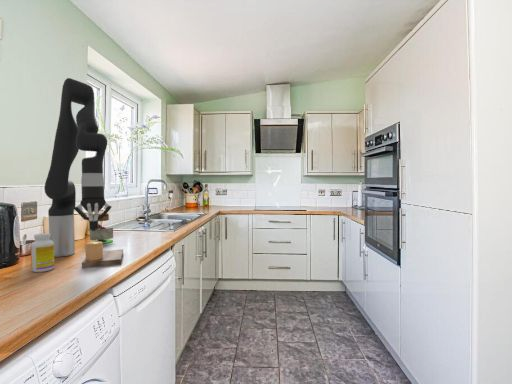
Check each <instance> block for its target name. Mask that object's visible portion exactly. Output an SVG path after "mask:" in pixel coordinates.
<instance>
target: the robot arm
mask: <svg viewBox="0 0 512 384" xmlns="http://www.w3.org/2000/svg"><path fill="white" fill-rule="evenodd" d="M60 98H61V99H60V108H59V115H58V122H57V127H56V130H55V136H54V141H53V149H52V153H51V162H50V167H49V169H48V174H47V177H46V179H45V183H44V193H45V196H47V197H48V198H49V199H51V202H52V203H51V206H50V207H49V208H48V211H47V212H48V213H47V214H48V233H50V240H51V241H53V242H54V258H58V257H67V256H72V255H73V254H75V252H76V246H75V244H76V243H75V240H76V239H75V212H76V213H77V214H79V216H80V217H81V218H82V219H83V220H86V221H88V222H89V224H88V225H89V229H91V230H92V231H96V229H98V224H99V221H98V220H100V219H102V218H103V217H104V216H105V215H106V214H107V213H109V212H110V210H111V209H112V205H111V204H108V203H107V201H106V200H105V179H104V166H103V164H104V158H105V153H106V150H107V148H108V138H107V136H106V135H105V134H104V133H99V126H98V125H99V124H98V122H97V118H96V113H95V112H96V111H95V109H96V108H95V107H96V106H95V105H96V103H95V91H94V89H93V87H92V86H91V85H89V84H87V83H85V82H82V81H79V80H77V79H75V78H71V77H70V78H69V77H67V78H66V79H65V80H64V82H63V85H62V90H61V97H60ZM72 103H75V104H78V105H81V106H83V107H82V108H81V109H80V110H78V111H77V113H76V117H75V116H74V113H73V109H72ZM79 151H83V152H96V153H95V155H94V156H89V157H84V158H82V159H81V180H80V181H81V182H80V183H81V201H80V204H78V205H77V206H76V203H77V202H76V197H77V196H76V186H75V183H74V182H73V181H72V180H71V179H69V178H70V170H71V167H72V165H73V163H74V161H75V159H76V157H77V155H78V153H79ZM103 207H104V210H103V212H102V214H101V216H99V213H100V211H101V210H102V209H103ZM83 209H84V210H85V211H86V212H87V214H86V213H85V212H84V211H83ZM93 214H94V221H93Z"/></svg>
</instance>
